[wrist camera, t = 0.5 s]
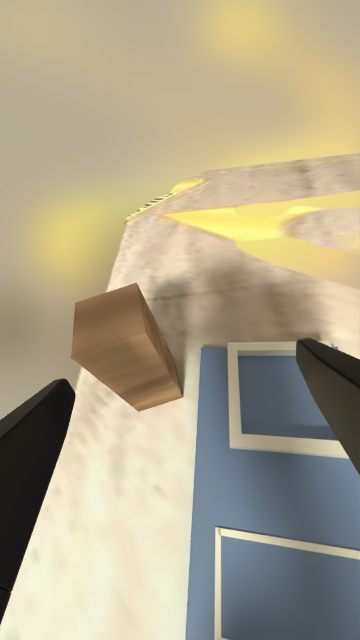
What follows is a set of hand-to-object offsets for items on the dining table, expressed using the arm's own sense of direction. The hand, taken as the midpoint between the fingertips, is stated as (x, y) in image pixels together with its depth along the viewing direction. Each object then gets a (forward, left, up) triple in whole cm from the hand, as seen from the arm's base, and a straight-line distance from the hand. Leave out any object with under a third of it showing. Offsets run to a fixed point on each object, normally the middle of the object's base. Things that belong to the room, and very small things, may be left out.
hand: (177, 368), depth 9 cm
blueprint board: (-3, -6, -16) cm, 17 cm away
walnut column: (+5, +6, -16) cm, 18 cm away
